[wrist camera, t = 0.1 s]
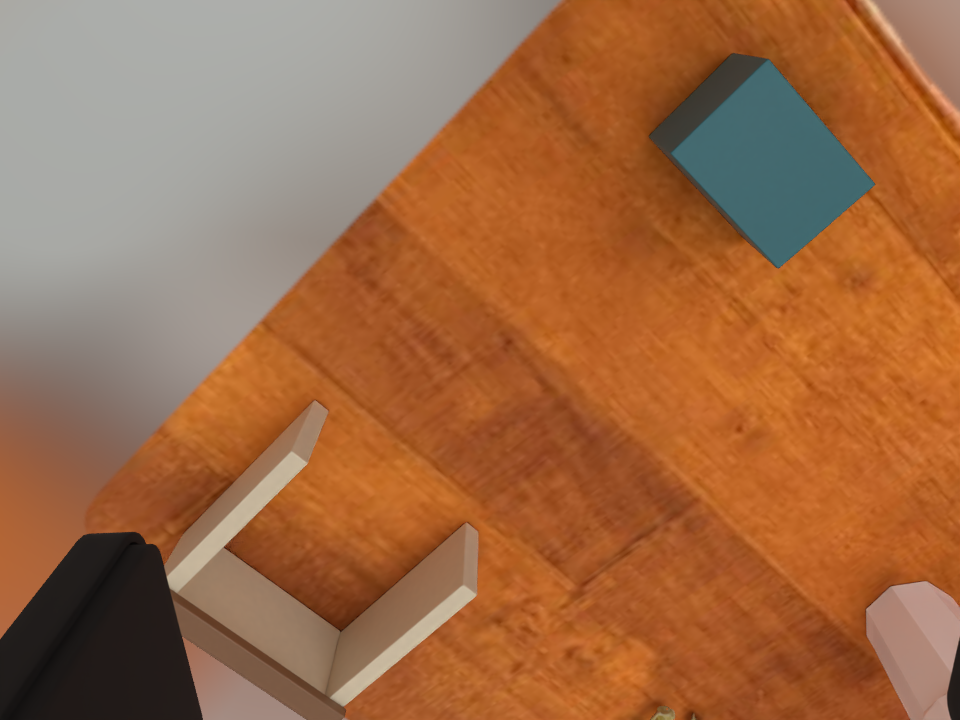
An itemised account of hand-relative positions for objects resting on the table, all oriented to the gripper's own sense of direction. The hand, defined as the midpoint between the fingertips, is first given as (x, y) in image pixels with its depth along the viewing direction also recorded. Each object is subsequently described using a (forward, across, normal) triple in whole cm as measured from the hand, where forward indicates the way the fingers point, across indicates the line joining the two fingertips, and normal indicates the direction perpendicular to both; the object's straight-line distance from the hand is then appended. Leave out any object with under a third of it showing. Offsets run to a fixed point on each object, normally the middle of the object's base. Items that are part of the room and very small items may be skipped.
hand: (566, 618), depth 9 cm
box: (+31, -11, 0) cm, 33 cm away
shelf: (+31, +11, +20) cm, 39 cm away
